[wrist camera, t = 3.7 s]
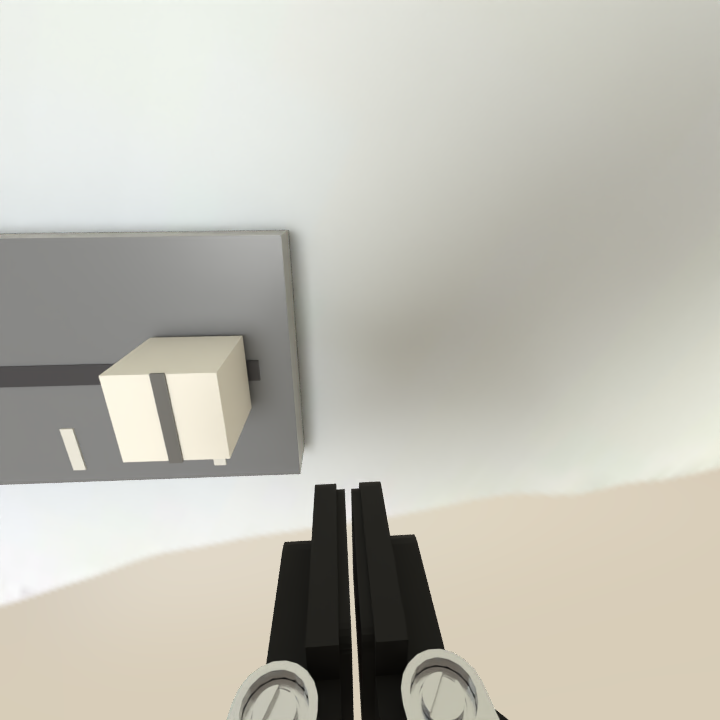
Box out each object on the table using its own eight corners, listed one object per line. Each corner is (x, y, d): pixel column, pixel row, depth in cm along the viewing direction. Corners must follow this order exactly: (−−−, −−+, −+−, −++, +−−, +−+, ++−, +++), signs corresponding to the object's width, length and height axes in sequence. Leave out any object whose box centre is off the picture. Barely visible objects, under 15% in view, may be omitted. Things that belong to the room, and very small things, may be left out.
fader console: (288, 230, 19) (280, 235, 16) (304, 446, 23) (300, 475, 21) (-208, 236, 18) (-293, 242, 15) (-90, 459, 22) (-142, 491, 20)
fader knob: (242, 334, 18) (215, 372, 14) (251, 408, 19) (229, 461, 15) (149, 336, 17) (96, 375, 14) (166, 410, 19) (122, 464, 15)
